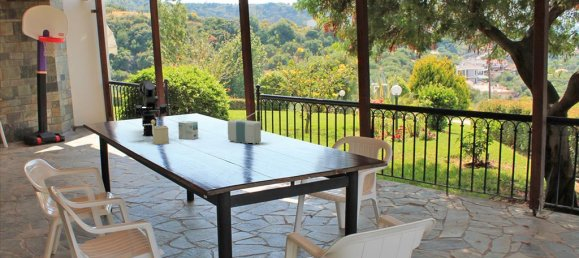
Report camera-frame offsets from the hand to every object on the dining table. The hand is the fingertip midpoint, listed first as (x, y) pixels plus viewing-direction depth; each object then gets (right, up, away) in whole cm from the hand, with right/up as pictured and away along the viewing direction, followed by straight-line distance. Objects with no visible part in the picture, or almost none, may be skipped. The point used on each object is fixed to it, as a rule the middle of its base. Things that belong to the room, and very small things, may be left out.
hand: (152, 119), depth 339 cm
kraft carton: (+6, -14, -1) cm, 15 cm away
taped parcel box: (+57, -14, -1) cm, 58 cm away
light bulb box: (+20, -12, +14) cm, 27 cm away
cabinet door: (+1, -9, -3) cm, 10 cm away
